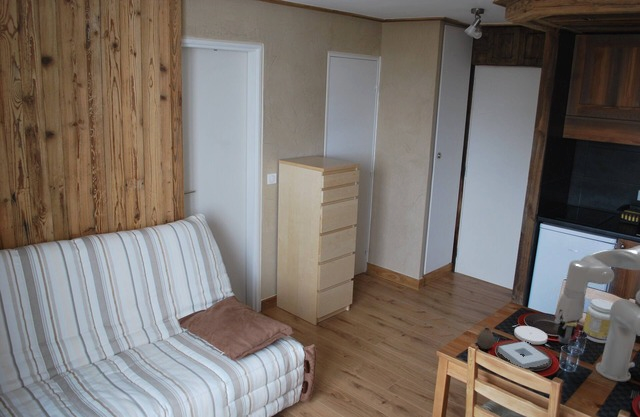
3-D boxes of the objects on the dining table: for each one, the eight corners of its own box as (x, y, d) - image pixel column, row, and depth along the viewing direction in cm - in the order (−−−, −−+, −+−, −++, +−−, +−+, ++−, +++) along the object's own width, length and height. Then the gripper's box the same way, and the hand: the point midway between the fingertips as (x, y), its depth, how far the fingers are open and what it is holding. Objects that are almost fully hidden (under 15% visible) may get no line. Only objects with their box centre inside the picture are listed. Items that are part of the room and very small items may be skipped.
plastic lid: (507, 336, 243) (508, 331, 243) (523, 327, 252) (524, 322, 252) (537, 349, 233) (538, 344, 233) (552, 340, 242) (553, 335, 242)
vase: (493, 352, 229) (496, 333, 226) (476, 349, 230) (479, 331, 228) (491, 344, 235) (494, 326, 233) (475, 341, 236) (478, 323, 234)
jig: (522, 349, 232) (524, 341, 231) (547, 366, 220) (549, 358, 219) (497, 354, 227) (498, 346, 226) (521, 372, 215) (522, 364, 213)
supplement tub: (587, 328, 255) (594, 295, 251) (615, 338, 247) (622, 304, 242) (577, 336, 247) (584, 302, 242) (605, 347, 239) (613, 312, 234)
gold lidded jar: (563, 336, 215) (567, 316, 212) (575, 343, 210) (580, 323, 207) (552, 338, 213) (556, 318, 210) (564, 346, 207) (569, 325, 205)
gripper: (581, 286, 212) (572, 327, 217) (550, 290, 205) (541, 333, 210) (598, 294, 206) (588, 336, 211) (566, 299, 199) (557, 343, 204)
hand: (565, 334), depth 210 cm, fingers closed on gold lidded jar, 4 cm apart
